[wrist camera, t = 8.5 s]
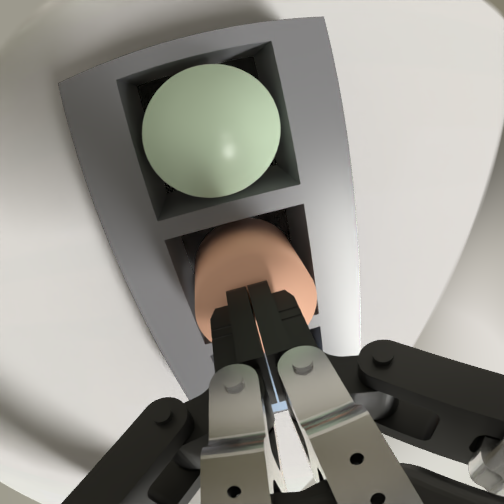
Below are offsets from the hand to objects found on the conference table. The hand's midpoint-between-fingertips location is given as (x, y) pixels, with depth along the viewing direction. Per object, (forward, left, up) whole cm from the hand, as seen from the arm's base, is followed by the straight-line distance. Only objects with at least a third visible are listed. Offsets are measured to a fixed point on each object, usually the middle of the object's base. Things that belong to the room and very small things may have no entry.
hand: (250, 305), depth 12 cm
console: (0, 0, -6) cm, 6 cm away
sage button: (+5, +3, -5) cm, 8 cm away
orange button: (0, 0, -4) cm, 4 cm away
